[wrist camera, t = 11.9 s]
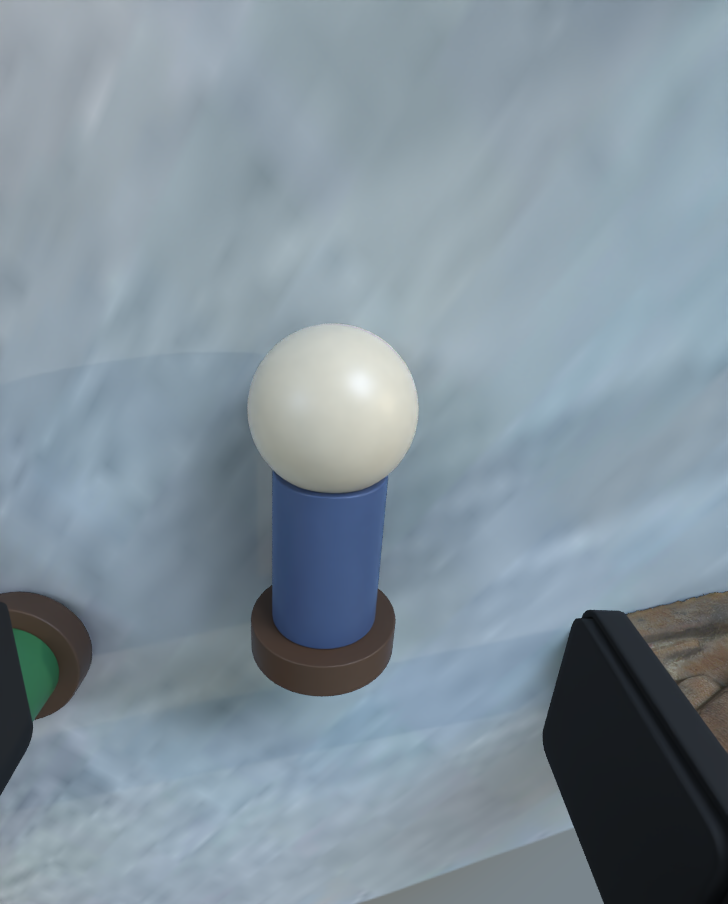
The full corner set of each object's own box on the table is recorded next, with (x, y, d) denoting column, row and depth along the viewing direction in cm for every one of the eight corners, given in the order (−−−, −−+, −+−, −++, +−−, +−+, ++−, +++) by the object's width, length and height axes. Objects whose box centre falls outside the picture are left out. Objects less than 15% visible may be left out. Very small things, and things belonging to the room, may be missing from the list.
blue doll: (257, 305, 20) (231, 339, 14) (414, 314, 20) (443, 350, 15) (260, 594, 25) (242, 696, 19) (385, 597, 25) (400, 697, 20)
